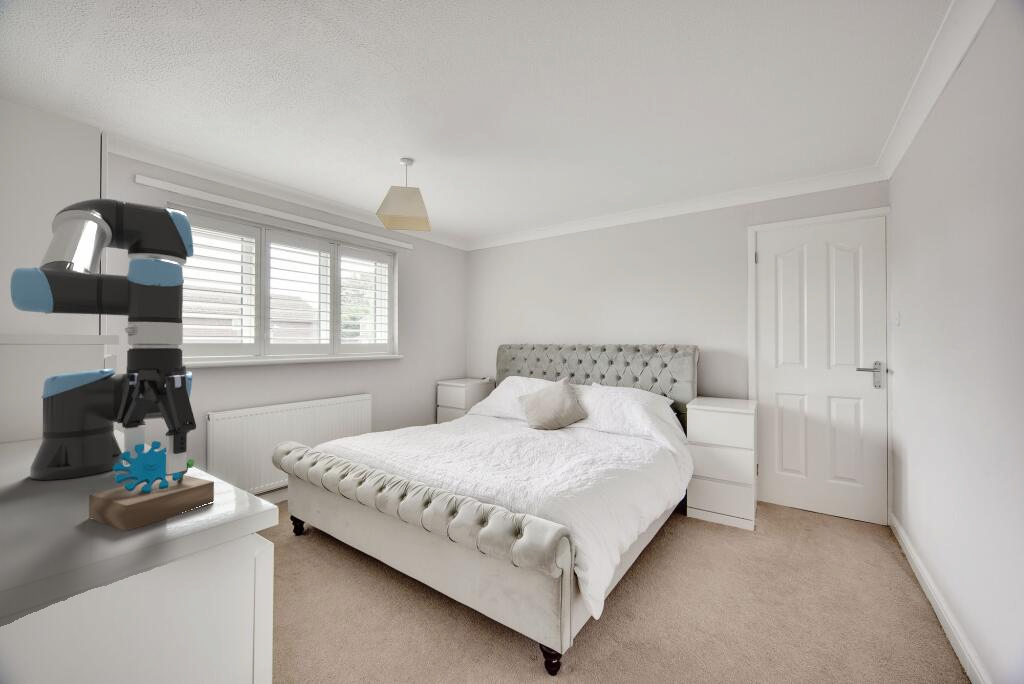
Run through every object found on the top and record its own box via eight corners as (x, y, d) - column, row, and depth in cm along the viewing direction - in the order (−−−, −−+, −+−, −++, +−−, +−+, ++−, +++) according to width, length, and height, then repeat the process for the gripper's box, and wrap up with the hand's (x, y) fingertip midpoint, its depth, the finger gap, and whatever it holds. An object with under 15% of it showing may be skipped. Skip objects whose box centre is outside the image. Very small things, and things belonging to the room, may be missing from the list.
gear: (105, 490, 69) (120, 438, 75) (105, 509, 72) (119, 457, 78) (190, 486, 75) (197, 439, 81) (186, 503, 78) (194, 456, 84)
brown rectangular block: (88, 518, 72) (89, 494, 72) (176, 493, 83) (176, 473, 83) (126, 531, 67) (126, 505, 67) (213, 503, 78) (213, 481, 79)
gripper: (93, 346, 77) (92, 464, 77) (171, 347, 67) (170, 483, 67) (143, 346, 84) (142, 454, 84) (221, 347, 74) (220, 470, 73)
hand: (154, 467), depth 75 cm, fingers open, 13 cm apart
